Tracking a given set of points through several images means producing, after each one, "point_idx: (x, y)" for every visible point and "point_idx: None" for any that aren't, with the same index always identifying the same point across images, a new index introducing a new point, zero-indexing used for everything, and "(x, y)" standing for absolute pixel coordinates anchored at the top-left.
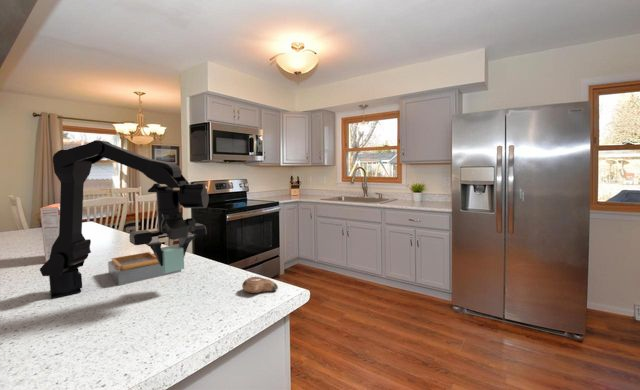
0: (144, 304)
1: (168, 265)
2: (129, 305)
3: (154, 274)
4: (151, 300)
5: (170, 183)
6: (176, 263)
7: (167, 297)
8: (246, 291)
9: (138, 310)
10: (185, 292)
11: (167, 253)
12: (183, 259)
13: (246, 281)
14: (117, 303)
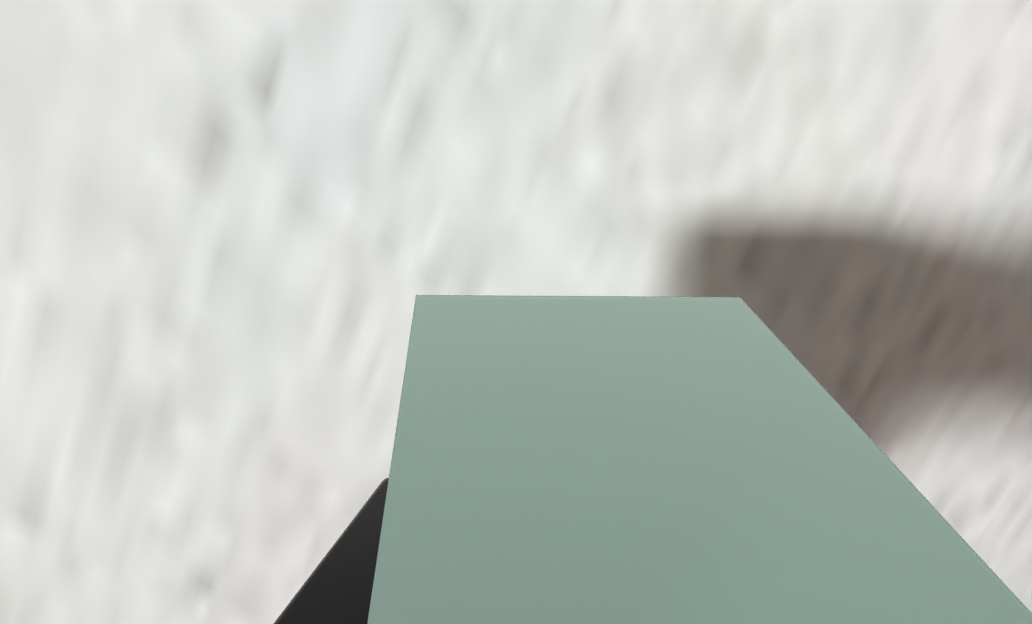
0: (883, 123)
1: (733, 362)
2: (963, 208)
3: None
4: (789, 178)
5: None
6: (573, 364)
7: (651, 135)
8: None
9: (1004, 2)
10: (450, 130)
11: (910, 576)
12: (409, 402)
13: None
14: (981, 328)
